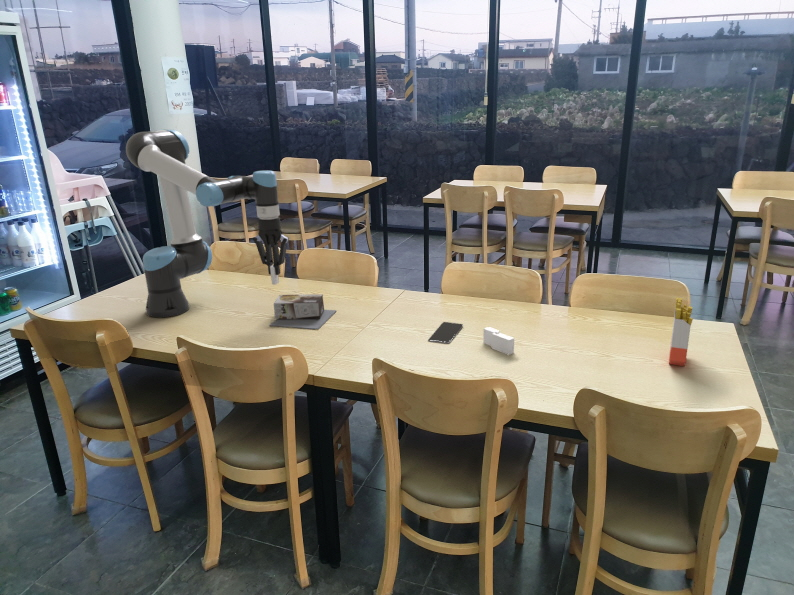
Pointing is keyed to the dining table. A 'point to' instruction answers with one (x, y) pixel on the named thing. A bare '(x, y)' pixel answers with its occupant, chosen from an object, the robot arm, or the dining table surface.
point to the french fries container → (680, 334)
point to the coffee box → (299, 306)
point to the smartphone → (445, 332)
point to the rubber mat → (304, 321)
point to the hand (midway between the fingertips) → (275, 283)
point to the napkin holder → (498, 340)
